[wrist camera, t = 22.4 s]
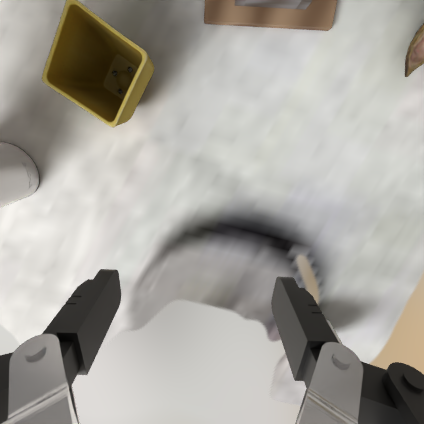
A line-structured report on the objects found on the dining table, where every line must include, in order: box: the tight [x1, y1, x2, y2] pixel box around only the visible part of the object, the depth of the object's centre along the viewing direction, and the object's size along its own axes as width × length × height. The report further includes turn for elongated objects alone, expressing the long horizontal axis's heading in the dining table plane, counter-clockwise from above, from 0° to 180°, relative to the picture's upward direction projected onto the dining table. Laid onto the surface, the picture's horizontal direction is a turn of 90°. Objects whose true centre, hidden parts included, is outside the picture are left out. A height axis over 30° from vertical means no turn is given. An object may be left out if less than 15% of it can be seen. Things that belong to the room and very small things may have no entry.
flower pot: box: [42, 0, 154, 127], centre depth 28 cm, size 9×9×9 cm
